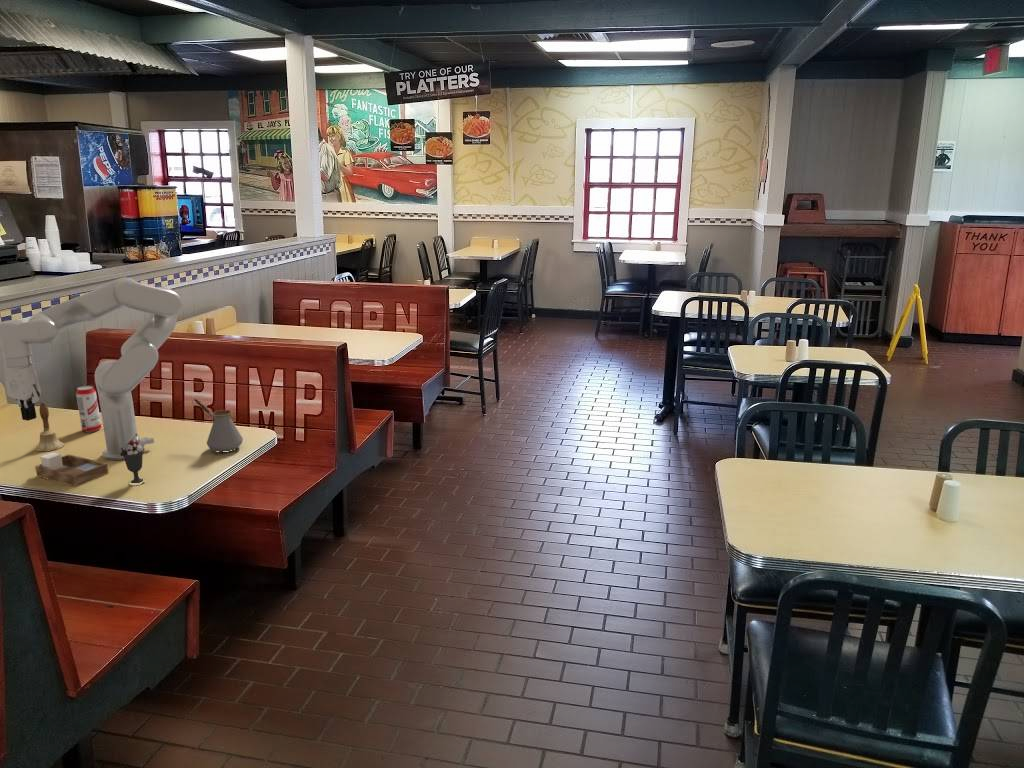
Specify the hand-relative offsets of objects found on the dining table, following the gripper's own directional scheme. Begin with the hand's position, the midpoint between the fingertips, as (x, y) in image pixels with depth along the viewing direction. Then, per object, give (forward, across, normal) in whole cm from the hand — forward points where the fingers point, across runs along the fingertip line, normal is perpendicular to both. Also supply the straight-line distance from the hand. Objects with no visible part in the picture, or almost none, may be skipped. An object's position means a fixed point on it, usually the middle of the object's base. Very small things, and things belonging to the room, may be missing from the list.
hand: (29, 418), depth 236 cm
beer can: (+17, -19, +32) cm, 41 cm away
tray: (+17, +12, +2) cm, 21 cm away
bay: (+17, +16, +5) cm, 24 cm away
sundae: (+17, +36, +7) cm, 40 cm away
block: (+15, +7, 0) cm, 17 cm away
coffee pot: (+17, +34, +40) cm, 55 cm away
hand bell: (+17, -16, +14) cm, 28 cm away
